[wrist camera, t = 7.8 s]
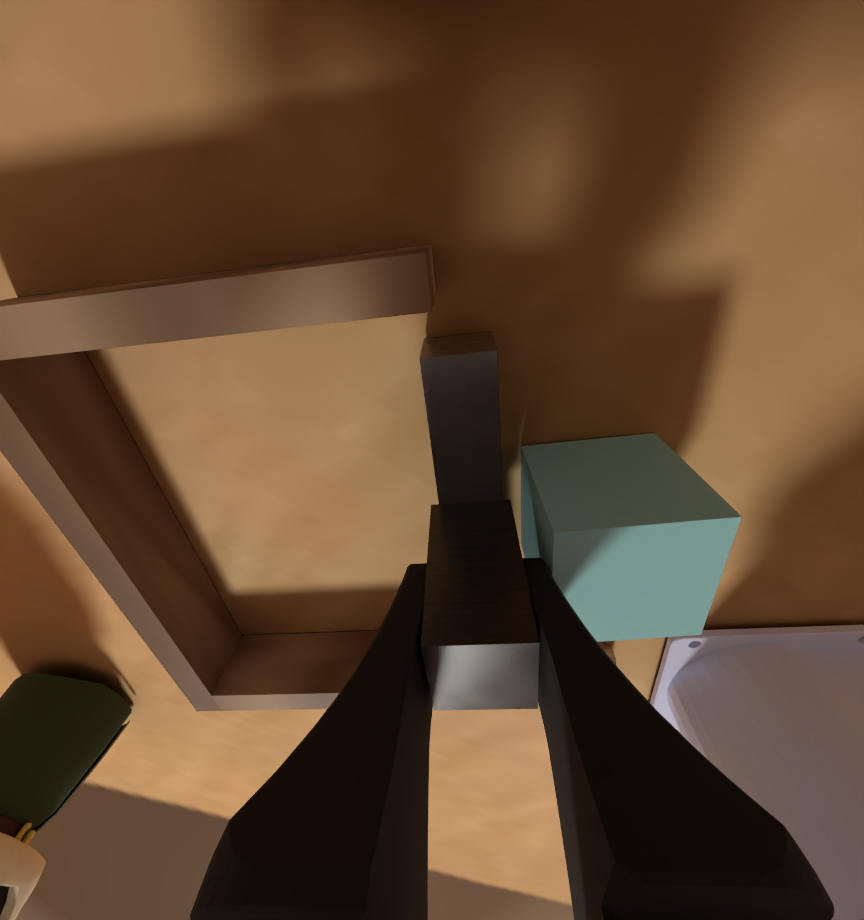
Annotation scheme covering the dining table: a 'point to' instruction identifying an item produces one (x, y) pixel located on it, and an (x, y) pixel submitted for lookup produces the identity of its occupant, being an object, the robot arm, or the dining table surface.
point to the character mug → (46, 765)
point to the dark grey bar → (473, 541)
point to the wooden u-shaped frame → (129, 478)
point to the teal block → (626, 533)
